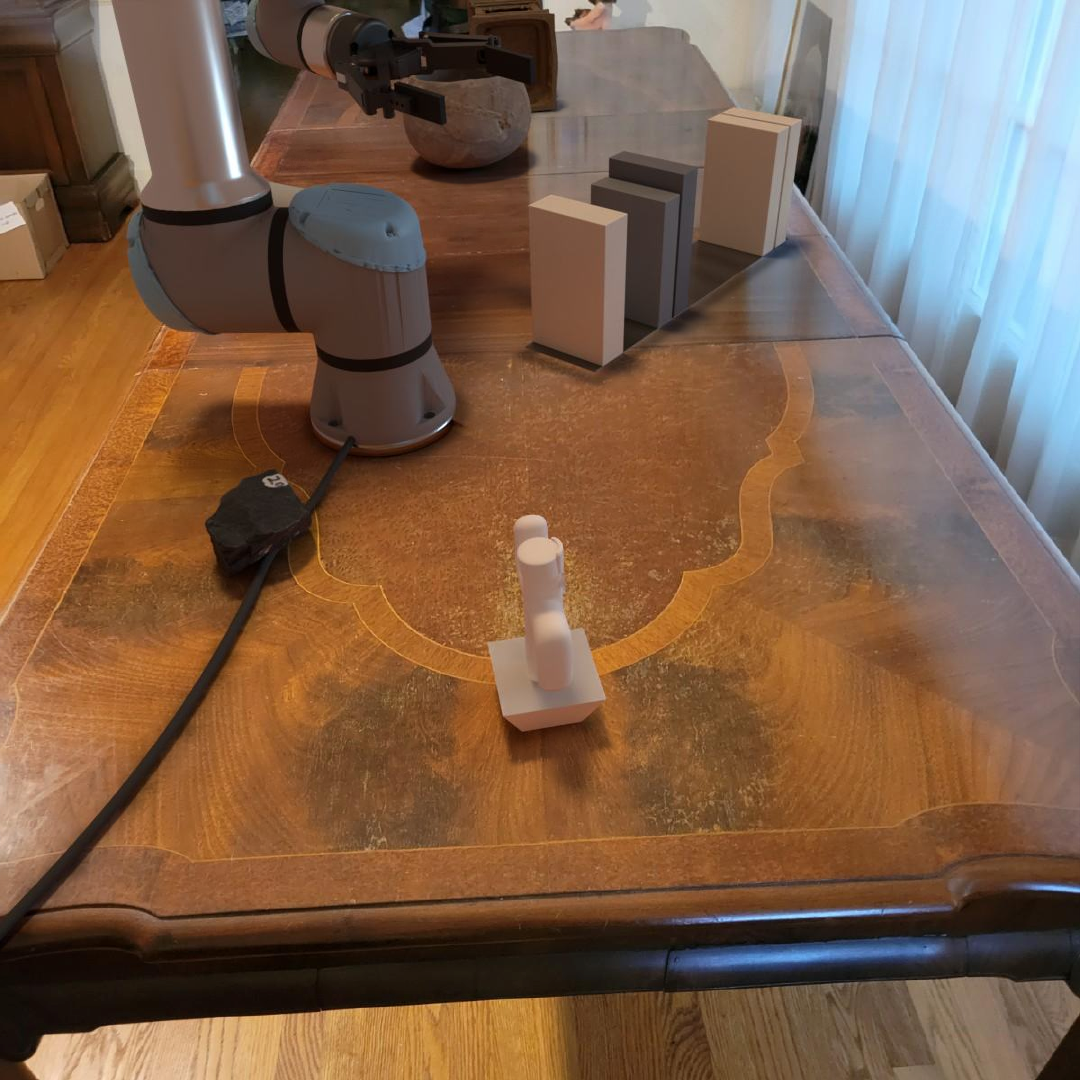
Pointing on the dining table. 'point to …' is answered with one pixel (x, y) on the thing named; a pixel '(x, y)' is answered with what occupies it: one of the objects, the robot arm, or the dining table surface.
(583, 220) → the white book
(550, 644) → the figurine
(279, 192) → the ceramic mug
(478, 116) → the clay pot
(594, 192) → the grey books
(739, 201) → the white books
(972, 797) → the dining table surface
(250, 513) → the mineral
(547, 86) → the ornamental box
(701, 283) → the black base plate
